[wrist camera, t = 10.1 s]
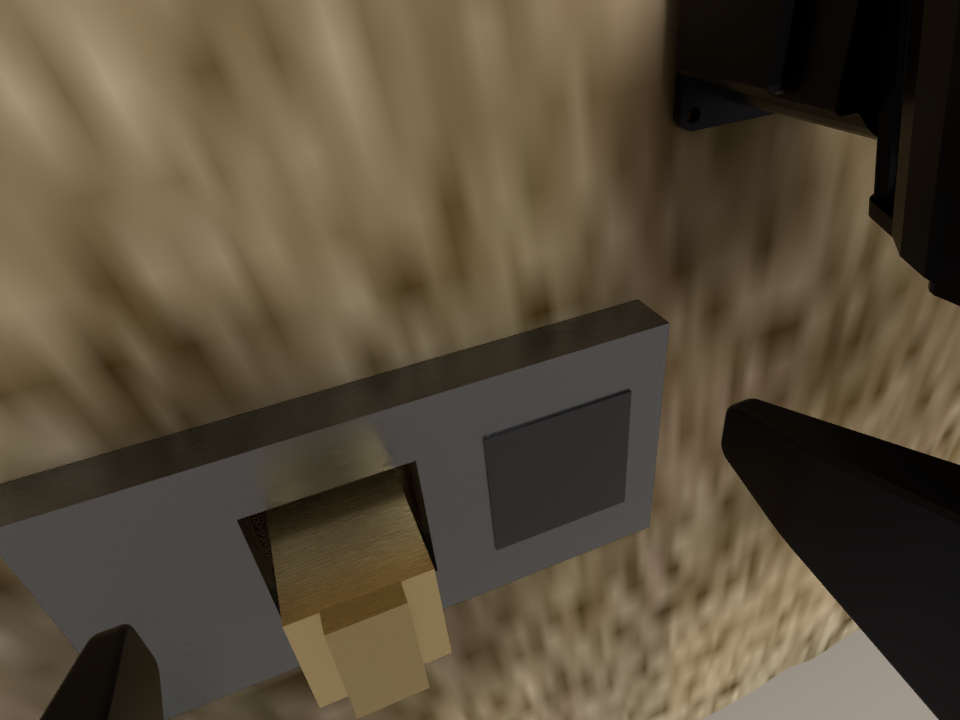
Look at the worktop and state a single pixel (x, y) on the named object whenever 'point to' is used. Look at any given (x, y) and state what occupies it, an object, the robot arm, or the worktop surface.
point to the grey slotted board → (340, 460)
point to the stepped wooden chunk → (357, 593)
